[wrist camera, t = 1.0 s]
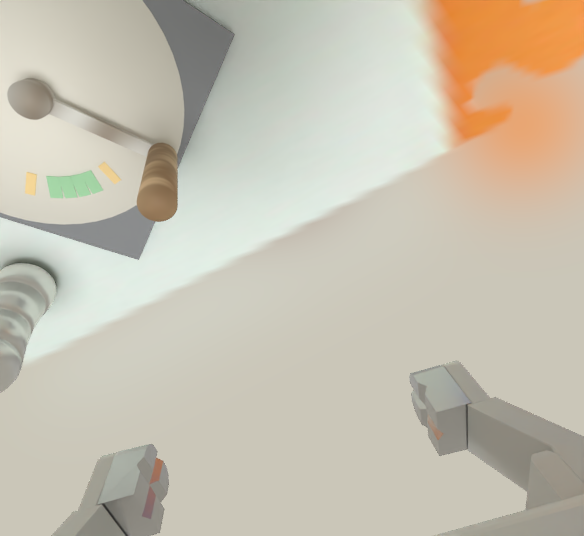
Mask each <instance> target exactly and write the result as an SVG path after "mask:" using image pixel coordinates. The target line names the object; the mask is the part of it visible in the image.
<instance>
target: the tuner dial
mask: <svg viewBox="0 0 584 536" xmlns="http://www.w3.org/2000/svg"><path fill="white" fill-rule="evenodd" d="M233 37H234V33H232V32H231V31H229V30H228V29H226V28H225V27H223V26H222V25H220V24H219V23H217V22H216V21H214V20H213V19H211V18H210V17H208V16H206V15H205V14H203V13H202V12H200V11H199V10H197V9H196V8H194V7H193V6H191V5H190V4H188V3H187V2H185V1H184V0H0V217H2V218H5V219H8V220H12V221H15V222H18V223H21V224H25V225H28V226H31V227H34V228H38V229H41V230H44V231H47V232H50V233H54V234H57V235H60V236H63V237H67V238H70V239H73V240H76V241H79V242H83V243H86V244H89V245H92V246H96V247H99V248H102V249H105V250H109V251H112V252H115V253H118V254H121V255H125V256H128V257H131V258H134V259H138V260H139V258H140V255H141V253H142V251H143V248H144V246H145V244H146V241H147V239H148V237H149V234H150V232H151V230H152V227H153V225H154V222H155V221H152V220H149V219H147V218H145V217H144V216H143V215H142V214H141V213H140V211H139V210H138V207H137V196H138V192H139V188H140V184H141V180H142V175H143V171H144V167H145V163H146V159H147V157H146V156H143V155H141V154H139V153H137V152H134V151H132V150H130V149H127V148H125V147H123V146H121V145H118V144H116V143H114V142H112V141H109V140H107V139H105V138H102V137H100V136H98V135H96V134H93V133H91V132H89V131H86V130H84V129H82V128H80V127H77V126H75V125H73V124H71V123H68V122H66V121H64V120H61V119H59V118H57V117H55V116H52V115H50V114H48V115H46V116H45V117H43V118H41V119H38V120H32V119H27V118H25V117H22V116H21V115H19V114H18V113H17V112H16V111H14V109H13V108H12V107H11V105H10V103H9V101H8V97H7V92H8V89H9V87H10V86H11V85H12V84H13V83H15V82H17V81H20V80H23V79H27V78H34V79H38V80H41V81H42V82H44V83H46V84H47V85H48V86H49V87H50V88H51V89H52V91H53V93H54V95H55V98H56V99H57V100H59V101H61V102H63V103H65V104H67V105H70V106H72V107H74V108H76V109H78V110H81V111H83V112H85V113H87V114H89V115H91V116H94V117H96V118H98V119H100V120H102V121H105V122H107V123H109V124H111V125H113V126H115V127H118V128H120V129H122V130H124V131H126V132H129V133H131V134H133V135H135V136H137V137H139V138H142V139H144V140H146V141H148V142H150V143H153V144H156V143H166V144H168V145H170V146H172V147H173V148H174V150H175V151H176V153H177V168H178V166H179V164H180V161H181V159H182V157H183V154H184V152H185V150H186V147H187V145H188V143H189V140H190V138H191V135H192V133H193V131H194V128H195V126H196V124H197V121H198V119H199V117H200V114H201V112H202V110H203V107H204V105H205V103H206V100H207V98H208V95H209V93H210V91H211V88H212V86H213V84H214V81H215V79H216V77H217V74H218V72H219V70H220V67H221V65H222V63H223V60H224V58H225V56H226V53H227V51H228V48H229V46H230V44H231V41H232V39H233Z"/></svg>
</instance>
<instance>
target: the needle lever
mask: <svg viewBox="0 0 584 536" xmlns="http://www.w3.org/2000/svg"><path fill="white" fill-rule="evenodd" d="M7 97H8V101H9V103H10V105H11V107H12V108H13V109H14V111H16V112H17V113H18V114H19V115H21V116H22V117H25V118H27V119H32V120H38V119H41V118H43V117H45V116H46V115H48V114H50V115H52V116H55V117H57V118H59V119H61V120H64V121H66V122H68V123H71V124H73V125H75V126H77V127H80V128H82V129H84V130H86V131H89V132H91V133H93V134H96V135H98V136H100V137H102V138H105V139H107V140H109V141H112V142H114V143H116V144H118V145H121V146H123V147H125V148H127V149H130V150H132V151H134V152H137V153H139V154H141V155H143V156H146V157H147V159H146V163H145V167H144V171H143V175H142V180H141V184H140V188H139V192H138V196H137V207H138V210H139V211H140V213H141V214H142V215H143V216H144V217H145V218H147V219H149V220H152V221H157V222H160V221H165V220H168V219H170V218H171V217H172V216H173V215H174V214H175V212H176V210H177V153H176V151H175V150H174V148H173V147H172V146H170V145H168V144H166V143H156V144H153V143H150V142H148V141H146V140H144V139H142V138H139V137H137V136H135V135H133V134H131V133H129V132H126V131H124V130H122V129H120V128H118V127H115V126H113V125H111V124H109V123H107V122H105V121H102V120H100V119H98V118H96V117H94V116H91V115H89V114H87V113H85V112H83V111H81V110H78V109H76V108H74V107H72V106H70V105H67V104H65V103H63V102H61V101H59V100H57V99H56V98H55V95H54V93H53V91H52V89H51V88H50V87H49V86H48V85H47V84H46V83H44V82H42V81H41V80H38V79H34V78H27V79H23V80H20V81H17V82H15V83H13V84H12V85H11V86H10V87H9V89H8V92H7Z"/></svg>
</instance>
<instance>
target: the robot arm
mask: <svg viewBox="0 0 584 536" xmlns="http://www.w3.org/2000/svg"><path fill="white" fill-rule="evenodd" d="M410 384H411V385H412V387H413V389H414V390H413V392H412V393H411V396H412V402H413V405H414V409H415V412H416V414H417V416H418V418H419V420H420V422H421V424H422V425H424V426H426V427H427V428H428V436H429V438H430V440H431V442H432V444H433V445H434V447H435V449H436V451H437V453H438V454H439V456H442V455H445V454H450V453H454V452H458V451H462V450H466V449H468V451H469V452H471V453H472V454H474V455H475V456H477V457H478V458H480V459H481V460H482V461H484V462H485V463H487V464H488V465H490V466H491V467H492V468H494V469H495V470H497V471H498V472H500V473H501V474H502V475H504V476H505V477H507V478H508V479H510V480H511V481H513V482H514V483H516V484H517V485H518V486H520V487H521V488H523V489H524V490H526V491H527V501H526V510H524V511H521V512H517V513H514V514H510V515H506V516H503V517H499V518H495V519H492V520H488V521H485V522H482V523H478V524H474V525H470V526H467V527H463V528H460V529H456V530H452V531H449V532H445V533H442V534H438V535H434V536H584V436H581V435H579V434H577V433H575V432H572V431H570V430H568V429H565V428H563V427H561V426H559V425H556V424H554V423H552V422H550V421H548V420H545V419H543V418H541V417H539V416H536V415H534V414H532V413H530V412H528V411H525V410H523V409H521V408H519V407H516V406H514V405H512V404H510V403H507V402H505V401H503V400H501V399H498V398H496V397H494V398H490V397H489V396H488V395H487V394H486V393H485V391H484V390H483V389H482V388H481V386H480V385H479V384H478V383H477V382H476V380H475V379H474V378H473V377H472V376H471V375H470V373H469V372H468V371H467V370H466V369H465V367H463V365H462V364H461V363H460V362H459V361H453V362H450V363H446V364H443V365H441V366H440V365H439V366H435V367H432V368H428V369H425V370H421V371H418V372H414V373H410ZM156 456H157V450H156V448H155V447H154V445H153V444H149V445H144V446H141V447H136V448H132V449H128V450H124V451H120V452H117V453H113V454H109V455H104V456H102V457H101V458H100V459H99V460H98V461H97V464H96V466H95V469H94V471H93V474H92V476H91V479H90V481H89V484H88V486H87V489H86V491H85V495H84V497H83V499H82V502H81V504H80V507H79V509H78V511H75V512H73V513H72V514H71V515H70V516H69V517H68V518H67V519H66V520H65V521H64V522H63V524H62V525H61V526H60V527H59V528H58V529H57V530H56V531H55V532H54V533H53V535H52V536H151V535H154V534H157V533H160V529H161V524H162V519H163V513H164V508H163V506H162V504H161V501H162V500H163V499H164V497H165V496H166V495H167V491H168V485H169V480H168V471H167V468H166V465H165V463H164V462H163V461H162V460H160V459H158V458H156Z"/></svg>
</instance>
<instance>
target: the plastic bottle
mask: <svg viewBox="0 0 584 536" xmlns="http://www.w3.org/2000/svg"><path fill="white" fill-rule="evenodd" d="M55 295H56V284H55V281H54V279H53V278H52V276H51V275H50V274H49V273H48V272H47V271H45V270H44V269H43V268H41V267H39V266H36V265H33V264H27V263H16V264H11V265H8V266H6V267H4V268H3V269H2V270H0V393H1V392H2V391H4V390H5V389H7V388H8V387H9V386H10V385H11V384H12V383H13V382H14V381H15V380H16V379H17V377H18V375H19V372H20V370H21V367H22V362H23V358H24V354H25V350H26V346H27V344H28V341H29V339H30V336H31V334H32V331H33V329H34V328H35V326H36V325H37V323H38V321H39V320H40V318H41V317H42V316H43V315H44V314H45V313H46V311H47V310H48V309H49V308H50V307H51V305H52V304H53V302H54V300H55Z"/></svg>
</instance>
